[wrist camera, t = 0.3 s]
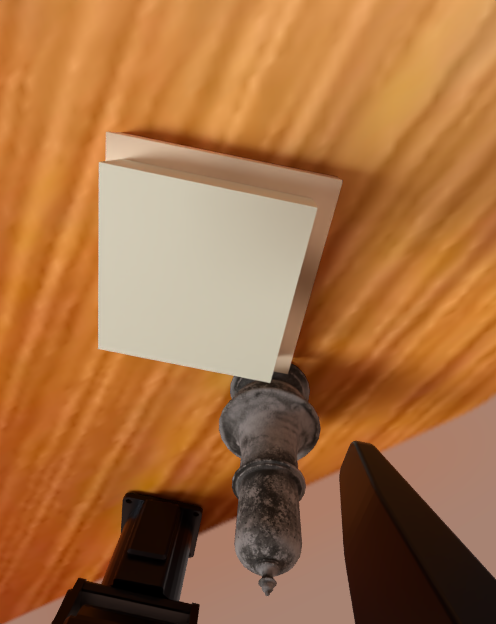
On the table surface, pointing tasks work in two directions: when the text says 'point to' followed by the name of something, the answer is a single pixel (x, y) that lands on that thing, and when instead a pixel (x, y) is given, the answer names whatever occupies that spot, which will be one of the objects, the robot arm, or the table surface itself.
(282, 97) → the table surface
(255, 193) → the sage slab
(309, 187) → the birch slab
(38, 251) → the table surface
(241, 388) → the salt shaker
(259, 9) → the table surface
